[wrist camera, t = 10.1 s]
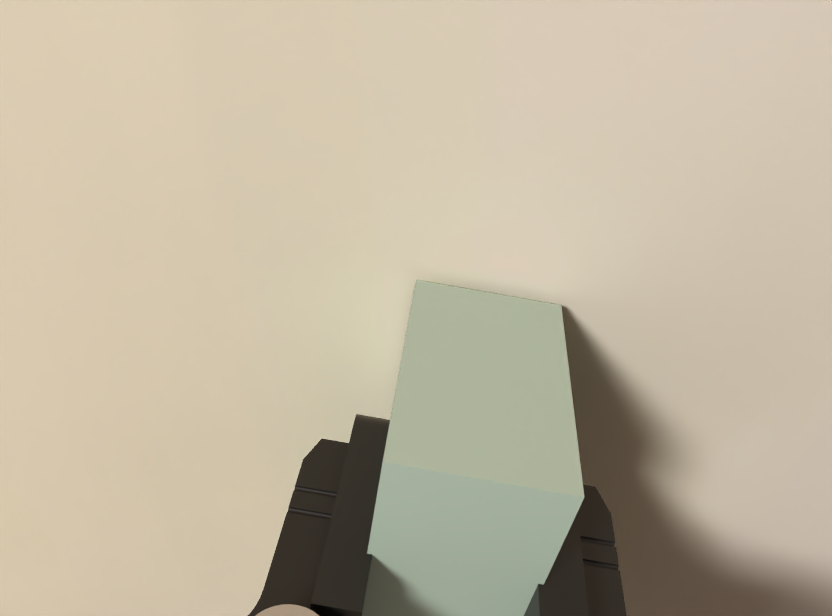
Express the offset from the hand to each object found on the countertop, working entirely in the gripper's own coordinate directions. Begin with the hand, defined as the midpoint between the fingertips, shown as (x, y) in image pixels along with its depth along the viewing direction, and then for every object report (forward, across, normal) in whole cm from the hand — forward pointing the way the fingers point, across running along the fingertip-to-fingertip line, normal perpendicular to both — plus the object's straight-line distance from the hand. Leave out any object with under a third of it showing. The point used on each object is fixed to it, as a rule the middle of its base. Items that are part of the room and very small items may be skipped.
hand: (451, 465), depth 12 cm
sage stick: (+1, 0, +8) cm, 8 cm away
